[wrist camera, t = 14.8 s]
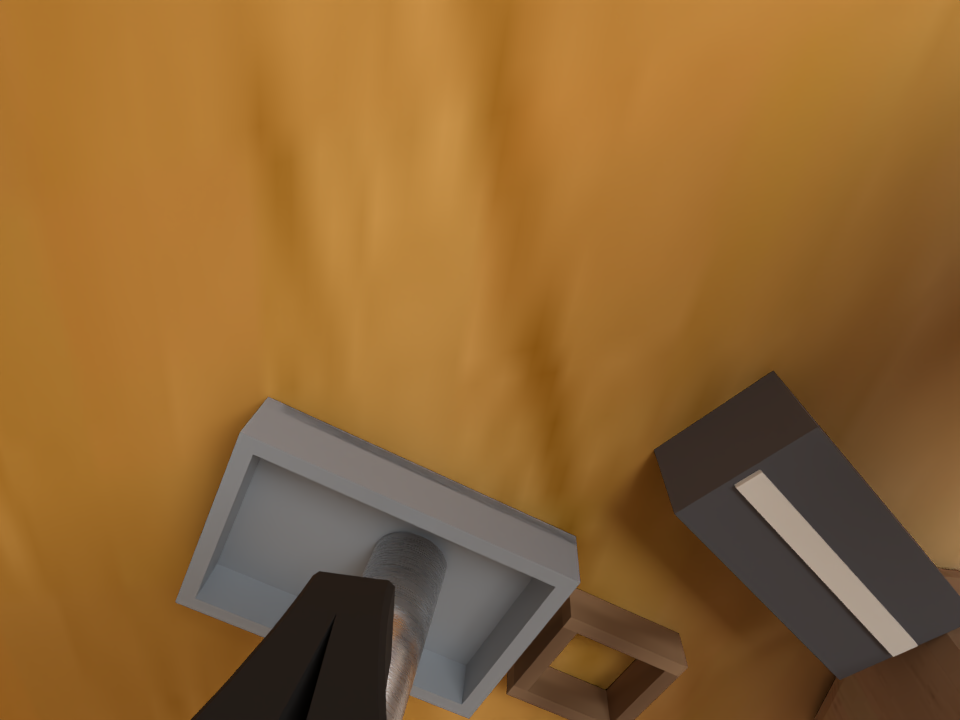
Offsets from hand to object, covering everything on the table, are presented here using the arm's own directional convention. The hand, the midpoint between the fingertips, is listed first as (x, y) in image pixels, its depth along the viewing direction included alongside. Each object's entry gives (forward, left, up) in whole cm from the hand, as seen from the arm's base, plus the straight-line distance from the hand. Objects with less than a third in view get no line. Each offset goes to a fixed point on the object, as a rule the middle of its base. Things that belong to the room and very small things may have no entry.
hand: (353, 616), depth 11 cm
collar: (-11, +8, -10) cm, 17 cm away
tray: (-2, +8, -10) cm, 13 cm away
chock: (-13, -1, -10) cm, 16 cm away
